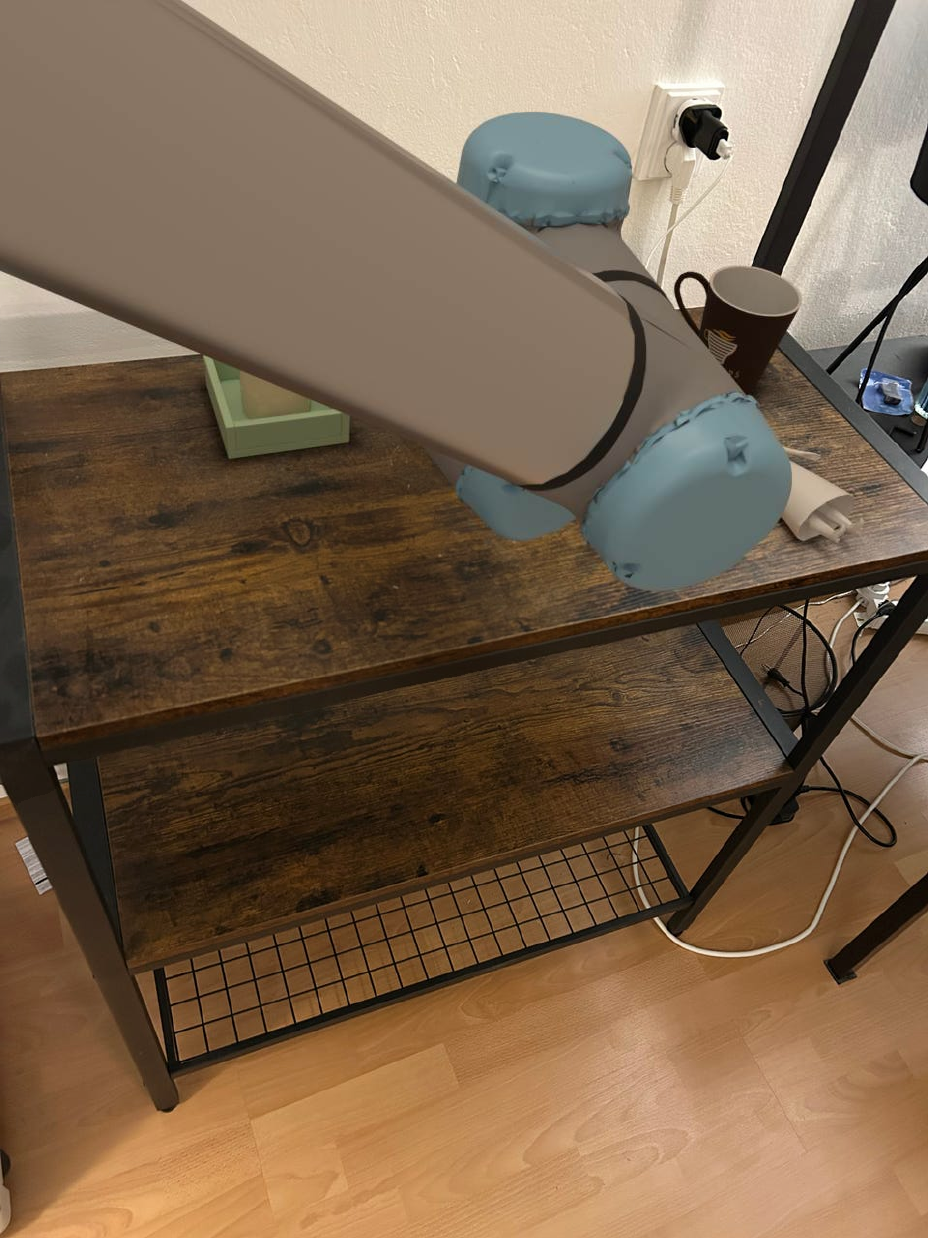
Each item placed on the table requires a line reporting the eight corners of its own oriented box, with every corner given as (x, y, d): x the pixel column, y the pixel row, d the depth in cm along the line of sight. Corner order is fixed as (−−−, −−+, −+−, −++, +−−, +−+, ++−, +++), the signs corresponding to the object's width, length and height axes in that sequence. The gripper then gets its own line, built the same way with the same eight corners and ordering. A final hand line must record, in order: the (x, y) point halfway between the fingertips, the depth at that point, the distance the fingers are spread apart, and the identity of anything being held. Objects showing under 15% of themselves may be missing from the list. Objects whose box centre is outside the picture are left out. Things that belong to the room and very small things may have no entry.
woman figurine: (806, 533, 76) (668, 411, 87) (788, 574, 79) (657, 452, 90) (909, 496, 81) (766, 385, 91) (888, 537, 84) (752, 424, 94)
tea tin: (248, 432, 82) (240, 318, 74) (234, 389, 86) (224, 275, 78) (320, 423, 84) (319, 311, 76) (302, 381, 88) (300, 269, 80)
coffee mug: (781, 400, 96) (820, 310, 88) (707, 412, 93) (741, 321, 85) (720, 334, 102) (752, 245, 95) (650, 344, 100) (676, 253, 92)
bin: (228, 459, 81) (225, 427, 79) (206, 385, 87) (202, 354, 85) (349, 442, 84) (350, 411, 82) (319, 372, 90) (319, 341, 88)
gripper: (216, 437, 55) (101, 253, 66) (572, 346, 65) (420, 199, 76) (204, 321, 49) (80, 141, 61) (595, 241, 60) (428, 99, 71)
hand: (269, 173), depth 68 cm, fingers open, 13 cm apart
